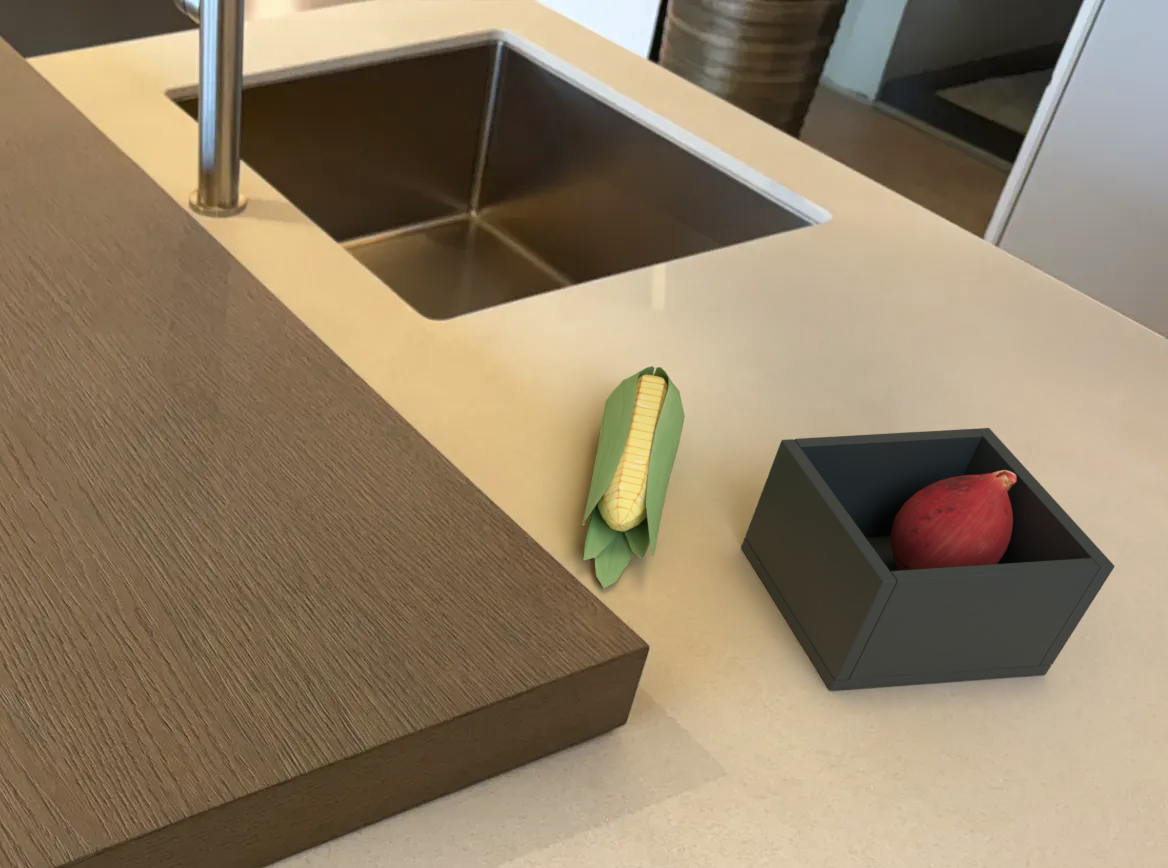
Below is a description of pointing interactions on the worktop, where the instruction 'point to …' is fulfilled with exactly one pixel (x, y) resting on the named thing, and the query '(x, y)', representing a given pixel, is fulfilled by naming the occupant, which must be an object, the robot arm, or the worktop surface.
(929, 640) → the trash bin
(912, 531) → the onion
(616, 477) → the edible corn
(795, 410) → the worktop surface
